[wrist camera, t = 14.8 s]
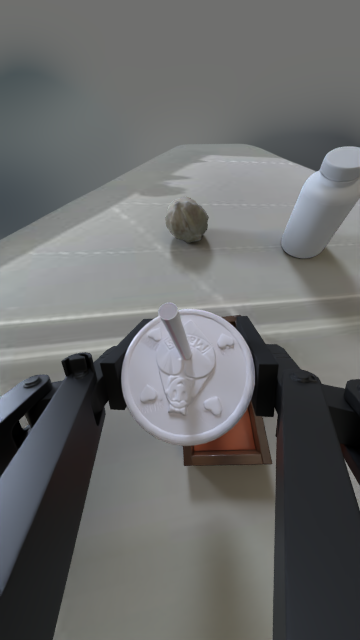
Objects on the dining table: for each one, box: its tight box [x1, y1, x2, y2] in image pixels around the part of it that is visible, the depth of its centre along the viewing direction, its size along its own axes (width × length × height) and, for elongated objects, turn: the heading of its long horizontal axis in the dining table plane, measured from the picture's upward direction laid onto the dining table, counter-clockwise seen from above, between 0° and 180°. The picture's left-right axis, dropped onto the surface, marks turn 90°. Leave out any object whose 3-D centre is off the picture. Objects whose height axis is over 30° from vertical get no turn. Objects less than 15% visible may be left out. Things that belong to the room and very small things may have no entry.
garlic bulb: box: [165, 197, 209, 243], centre depth 40 cm, size 9×8×10 cm
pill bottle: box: [281, 147, 360, 258], centre depth 32 cm, size 8×8×15 cm
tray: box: [183, 315, 272, 466], centre depth 28 cm, size 10×19×4 cm, turn 2°
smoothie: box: [121, 303, 255, 446], centre depth 11 cm, size 6×6×14 cm
